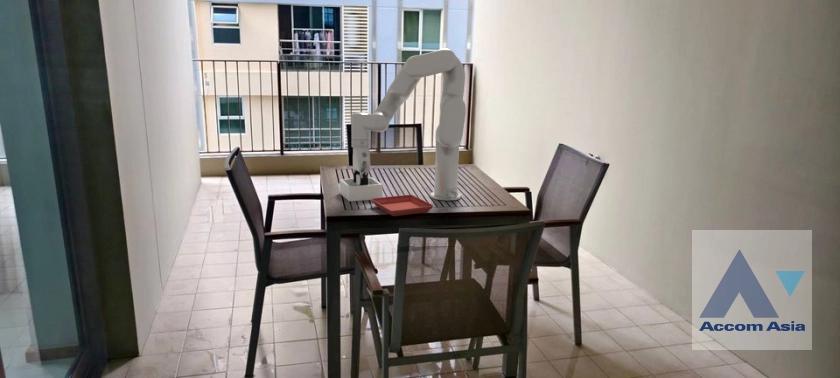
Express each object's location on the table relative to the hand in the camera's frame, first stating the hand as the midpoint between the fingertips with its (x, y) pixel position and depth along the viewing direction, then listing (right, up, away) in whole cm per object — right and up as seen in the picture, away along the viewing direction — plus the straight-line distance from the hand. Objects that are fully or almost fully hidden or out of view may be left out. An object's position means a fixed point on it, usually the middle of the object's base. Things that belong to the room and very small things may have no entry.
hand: (360, 184), depth 235 cm
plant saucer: (+17, -10, -17) cm, 26 cm away
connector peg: (0, -4, +1) cm, 4 cm away
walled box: (0, -5, +1) cm, 5 cm away
